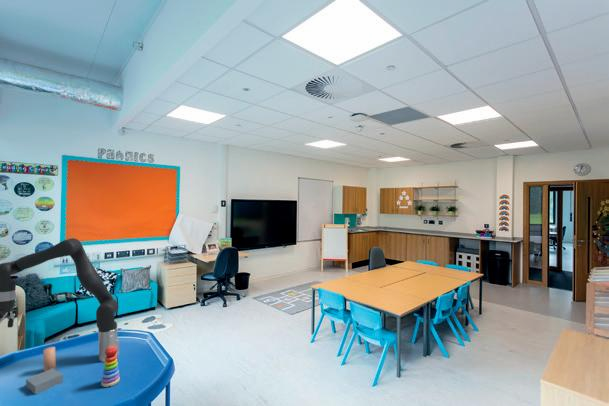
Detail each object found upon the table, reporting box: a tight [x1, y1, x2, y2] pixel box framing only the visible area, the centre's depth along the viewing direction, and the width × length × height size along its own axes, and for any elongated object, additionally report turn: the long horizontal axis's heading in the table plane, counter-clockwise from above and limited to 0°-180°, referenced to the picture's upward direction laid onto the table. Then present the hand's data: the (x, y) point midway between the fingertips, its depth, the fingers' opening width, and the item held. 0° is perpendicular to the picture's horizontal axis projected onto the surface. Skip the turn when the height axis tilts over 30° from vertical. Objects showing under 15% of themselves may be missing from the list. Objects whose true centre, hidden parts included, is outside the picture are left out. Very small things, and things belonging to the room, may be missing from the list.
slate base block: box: [25, 368, 64, 395], centre depth 152 cm, size 11×11×4 cm
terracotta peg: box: [42, 346, 57, 372], centre depth 163 cm, size 5×5×12 cm
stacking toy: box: [100, 346, 121, 388], centre depth 153 cm, size 8×8×19 cm
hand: (3, 329), depth 162 cm, fingers open, 8 cm apart
